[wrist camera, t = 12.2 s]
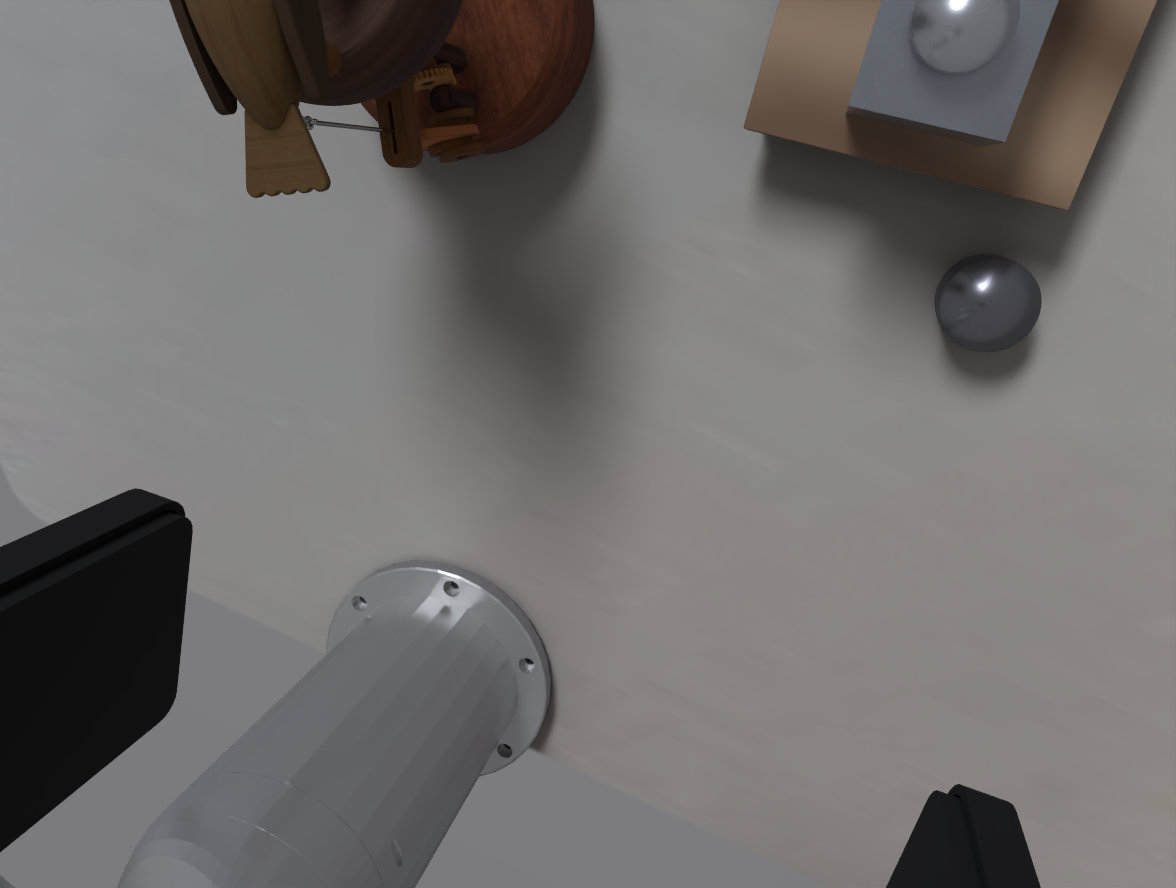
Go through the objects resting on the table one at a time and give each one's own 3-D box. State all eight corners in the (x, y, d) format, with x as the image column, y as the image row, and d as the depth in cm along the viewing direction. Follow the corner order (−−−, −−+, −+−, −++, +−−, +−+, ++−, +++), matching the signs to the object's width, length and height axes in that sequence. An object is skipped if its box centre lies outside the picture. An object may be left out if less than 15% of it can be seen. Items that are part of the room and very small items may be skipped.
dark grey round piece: (1008, 353, 36) (1017, 363, 34) (921, 328, 37) (926, 336, 35) (1045, 268, 35) (1057, 273, 33) (954, 243, 35) (961, 247, 33)
